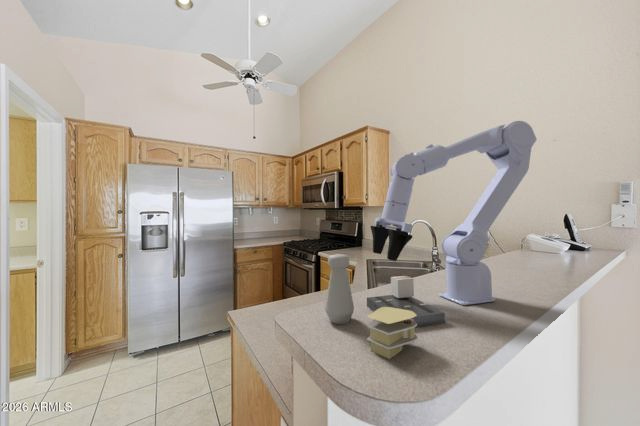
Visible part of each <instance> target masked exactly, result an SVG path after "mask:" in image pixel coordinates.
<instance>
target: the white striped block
mask: <svg viewBox="0 0 640 426" xmlns="http://www.w3.org/2000/svg"><path fill="white" fill-rule="evenodd" d="M414 284H415V283H414V278H413V277H410V276H407V275H401V276H398V275H397V276H390V295H394V296H395V297H397V298H403V297H415V294H414V293H415V292H414V291H415V289H414V287H415V285H414Z"/></svg>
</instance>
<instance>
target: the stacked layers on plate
mask: <svg viewBox="0 0 640 426" xmlns="http://www.w3.org/2000/svg"><path fill="white" fill-rule="evenodd" d="M415 316H417V315H416V314H415V313H414V312H413V311H410V310H404V309H398V308H392V307H381V308H379V309H377V310H376V311H372V312H371V313H370V314H368V315H367V316H366V317H367V318H369V319H373V320H371V321H370V322H369V323H367V324H366V328H369V336H368V337H367V338H366V339H367V341H368V342H369V343H370V345H369V346H370V351H371V352H373V353H375V354H377V355H379V356H381V357H384V358H386V359H388V360H390V359H391V358H394V356H395V355H397V354H399V353H400V352H401V351H403V346H405V345H409V344H412V343H414V342H416V341H417V340H418V338H419V337H418V335H416V334H415V333H416V331H415V330H416V328H415V327H416V326H417V323H416V322H415V321H414V320H413V319H410V318H413V317H415Z"/></svg>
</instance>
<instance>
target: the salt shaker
mask: <svg viewBox="0 0 640 426" xmlns="http://www.w3.org/2000/svg"><path fill="white" fill-rule="evenodd" d="M327 265H328V267H330V274H329V275H330V276H329V282H328V286H327V287H328V288H327V292H326V297H325V298H326V299H325V304H324V305H325V306H324V311H325V313H326V314H327V316H328V319H329V322H330V323H333V324H335V325H344V324H348V323H349V322H350V321H351V318H352V316H353V313H354V310H355V306H354V301H353V295H352V289H351V284H350V279H349V274H348V267H349V266H350V258H349V256H348V255H346V254H341V253H336V254H335V253H334V254H331V255H329V256H328V258H327Z"/></svg>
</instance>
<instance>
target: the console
mask: <svg viewBox="0 0 640 426" xmlns="http://www.w3.org/2000/svg"><path fill="white" fill-rule="evenodd" d="M366 307H367V309H370V310H371V311H372V312H374V311H376V310H377V309H379V308H381V307H392V308H398V309H404V310H410V311H413V312H414V313H415V314H416V315H417V316H415V317H413V318H410V319H413V320H414V321H415V322H416V323H417V326H416V327H415V329H417V328H423V327H430V326H437V325H444V324H446V313H445V312H444V311H442V310H440V309H438V308H436V307H434V306H431V305H430V304H428V303H427V302H426V303H425V302H423V301H422V300H419V299H417V298H415V297H414V296H412V297H403V298H397V297H395V296H394V295H392V294H389V295H378V296H369V297H366Z"/></svg>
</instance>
